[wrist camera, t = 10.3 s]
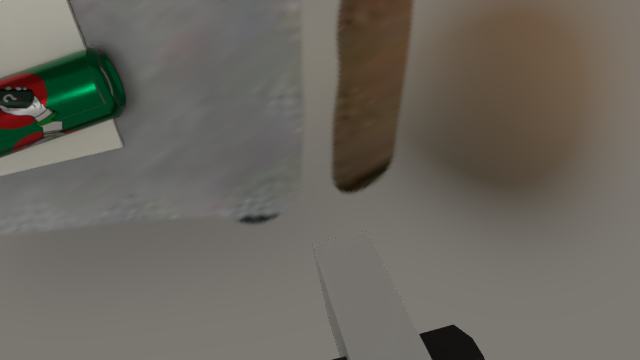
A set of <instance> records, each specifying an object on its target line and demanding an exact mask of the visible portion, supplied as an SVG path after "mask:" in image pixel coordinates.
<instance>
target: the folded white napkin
mask: <svg viewBox="0 0 640 360" xmlns="http://www.w3.org/2000/svg"><path fill="white" fill-rule="evenodd" d="M83 49H86V45H85V43H84V40H83V38H82V35H81V32H80V30H79V27H78V24H77V22H76V19H75V17H74V14H73V11H72V9H71V6H70V4H69V1H68V0H0V78H1V77H4V76H7V75H10V74H13V73H16V72H19V71H22V70H24V69H27V68H30V67H33V66H36V65H39V64H42V63H45V62H48V61H51V60H54V59H57V58H60V57H63V56H66V55H69V54H72V53H75V52H78V51H81V50H83ZM123 145H124V144H123V142H122V139H121V137H120V134H119V131H118V129H117V126H116V124H115V121H114V119H112V120H109V121H106V122H103V123H100V124H98V125H95V126H92V127H89V128H86V129H83V130H80V131H77V132H74V133H72V134H69V135H66V136H63V137H60V138H57V139H54V140H51V141H48V142H45V143H43V144H40V145H37V146H34V147H31V148H28V149H25V150H22V151H19V152H16V153H14V154H11V155H8V156H5V157H2V158H0V176H2V175H7V174H11V173H15V172H20V171H24V170H28V169H32V168H37V167H41V166H45V165H49V164H54V163H58V162H62V161H66V160H71V159H75V158H79V157H83V156H88V155H92V154H96V153H100V152H105V151H109V150H113V149H118V148H122V147H123Z"/></svg>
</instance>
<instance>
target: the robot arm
mask: <svg viewBox="0 0 640 360" xmlns="http://www.w3.org/2000/svg"><path fill="white" fill-rule="evenodd" d="M312 246H313V250H314V255H315V259H316V264H317V268H318V273H319V277H320V282H321V286H322V291H323V296H324V300H325V305H326V310H327V314H328V319H329V322H330V326H331V329H332V332H333V335H334V338H335V342H336V345H337V348H338V352H339V355H340V358H337V359H333V360H485V359H484V356H483V355H482V353H481V351H480V350H479V348H478V347H477V345H476V343H475V342H474V340H473V339H472V338H471V337H470V336H469V335H467V334H466V333H464V332H463V331H462V330H460V329H459V328H458V327H456V326H455V325H450V326H446V327H443V328H440V329H436V330H433V331H429V332H425V333H421V334H419V333H418V331H417V329H416V327H415V325H414V323H413V321H412V319H411V317H410V316H409V313H408V312H407V309H406V308H405V306H404V304H403V302H402V300H401V298H400V296H399V294H398V292H397V290H396V288H395V286H394V284H393V282H392V280H391V278H390V276H389V274H388V272H387V270H386V268H385V266H384V264H383V262H382V260H381V258H380V256H379V254H378V252H377V250H376V248H375V247H374V244H373V243H372V241H371V239H370V237H369V235H368V233H367V231H361V232H358V233H354V234H350V235H346V236H342V237H338V238H335V239H331V240H327V241H323V242H319V243H315V244H312Z"/></svg>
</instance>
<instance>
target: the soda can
mask: <svg viewBox="0 0 640 360" xmlns="http://www.w3.org/2000/svg"><path fill="white" fill-rule="evenodd" d="M125 107H126V98H125V93H124V90H123V87H122V84H121V81H120V79H119V77H118V74H117V72H116V70H115V68H114V67H113V65H112V63H111V62H110V60H109V59H108V58H107V56H106V55H105V54H104V53H102V52H101V51H98V50H96V49H92V48H86V49H83V50H81V51H78V52H75V53H72V54H69V55H66V56H63V57H60V58H57V59H54V60H51V61H48V62H45V63H42V64H39V65H36V66H33V67H30V68H27V69H24V70H22V71H19V72H16V73H13V74H10V75H7V76H4V77H1V78H0V158H2V157H5V156H8V155H11V154H14V153H16V152H19V151H22V150H25V149H28V148H31V147H34V146H37V145H40V144H43V143H45V142H48V141H51V140H54V139H57V138H60V137H63V136H66V135H69V134H72V133H74V132H77V131H80V130H83V129H86V128H89V127H92V126H95V125H98V124H100V123H103V122H106V121H109V120H112V119H115V118H118V117H120V116H121V114H122V113H123V111H124V109H125Z"/></svg>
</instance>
